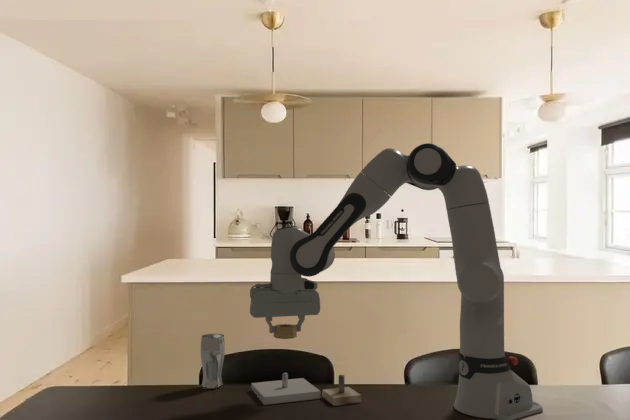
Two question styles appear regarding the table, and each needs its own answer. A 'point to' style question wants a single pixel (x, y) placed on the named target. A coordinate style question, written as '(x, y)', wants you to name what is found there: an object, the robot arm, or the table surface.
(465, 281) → the robot arm
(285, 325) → the collar
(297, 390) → the block
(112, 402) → the table surface
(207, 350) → the beer glass
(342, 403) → the stand
